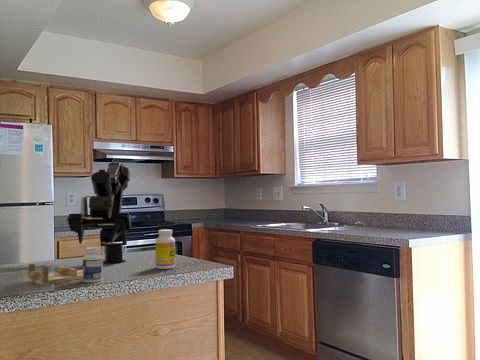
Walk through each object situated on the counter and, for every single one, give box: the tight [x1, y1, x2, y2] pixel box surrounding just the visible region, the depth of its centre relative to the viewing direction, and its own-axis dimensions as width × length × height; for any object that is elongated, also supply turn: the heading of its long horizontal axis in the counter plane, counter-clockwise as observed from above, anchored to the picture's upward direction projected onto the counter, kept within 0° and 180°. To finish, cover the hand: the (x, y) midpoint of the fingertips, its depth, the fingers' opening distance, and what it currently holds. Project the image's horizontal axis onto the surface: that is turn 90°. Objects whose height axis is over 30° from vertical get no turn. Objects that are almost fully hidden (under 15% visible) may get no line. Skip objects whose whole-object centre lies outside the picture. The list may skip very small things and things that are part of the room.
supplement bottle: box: [155, 229, 176, 270], centre depth 145 cm, size 7×7×13 cm
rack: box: [28, 262, 104, 286], centre depth 130 cm, size 9×19×5 cm, turn 142°
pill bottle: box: [82, 246, 104, 283], centre depth 125 cm, size 5×5×10 cm
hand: (95, 242), depth 129 cm, fingers open, 9 cm apart
